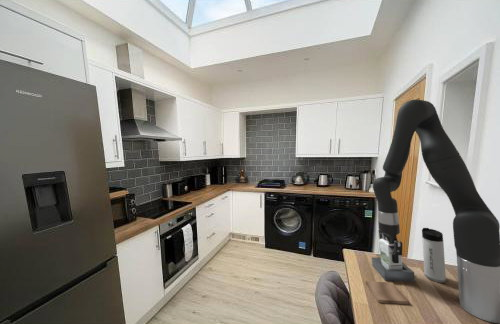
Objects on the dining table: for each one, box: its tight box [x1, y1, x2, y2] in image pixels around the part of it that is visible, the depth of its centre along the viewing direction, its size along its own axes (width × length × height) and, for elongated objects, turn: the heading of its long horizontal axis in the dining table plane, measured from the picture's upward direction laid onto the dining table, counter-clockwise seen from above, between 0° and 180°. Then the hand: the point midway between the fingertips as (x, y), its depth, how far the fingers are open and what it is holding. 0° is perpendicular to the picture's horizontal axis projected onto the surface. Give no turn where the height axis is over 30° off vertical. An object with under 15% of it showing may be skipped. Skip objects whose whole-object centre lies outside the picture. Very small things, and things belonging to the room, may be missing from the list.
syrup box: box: [378, 239, 403, 270], centre depth 80 cm, size 6×6×14 cm
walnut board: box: [365, 280, 411, 305], centre depth 69 cm, size 10×10×1 cm
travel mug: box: [421, 227, 447, 283], centre depth 76 cm, size 6×7×20 cm
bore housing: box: [371, 256, 416, 283], centre depth 80 cm, size 11×11×4 cm
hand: (390, 258), depth 80 cm, fingers closed on syrup box, 6 cm apart
